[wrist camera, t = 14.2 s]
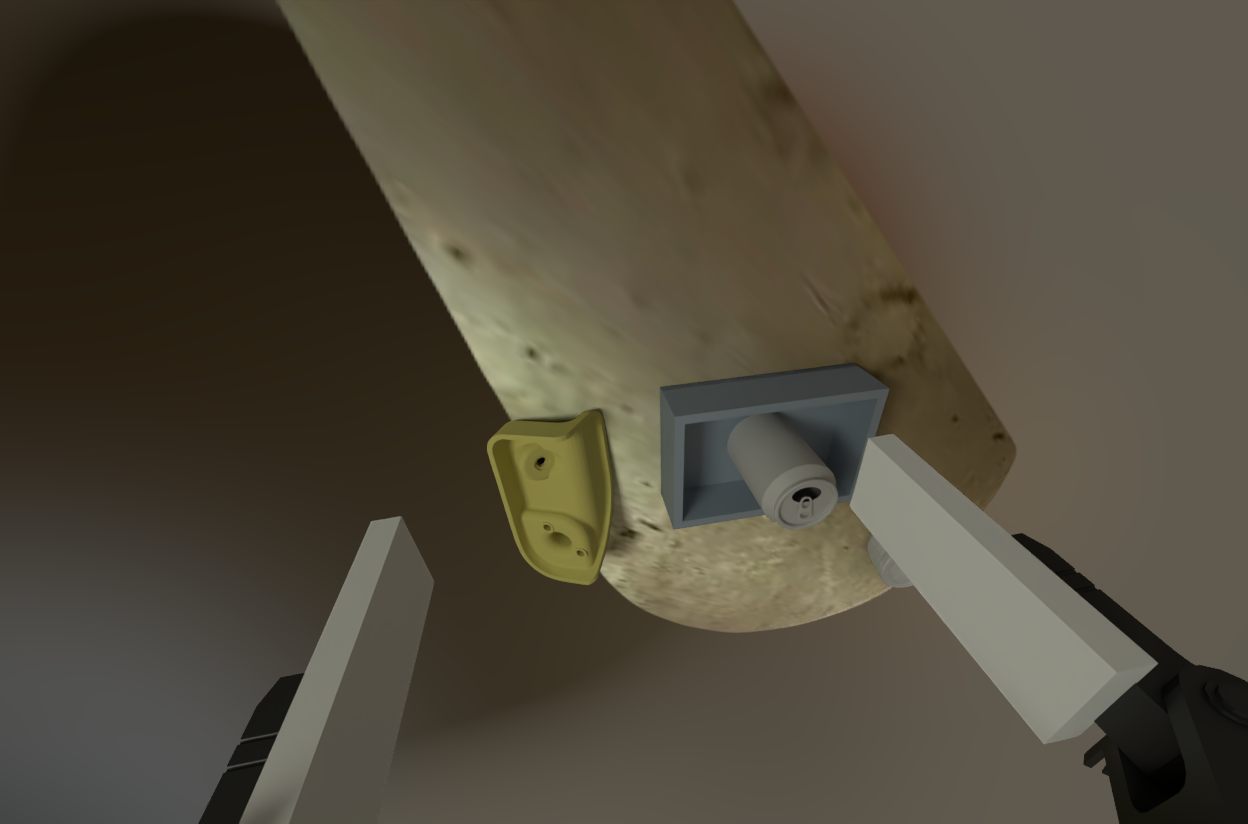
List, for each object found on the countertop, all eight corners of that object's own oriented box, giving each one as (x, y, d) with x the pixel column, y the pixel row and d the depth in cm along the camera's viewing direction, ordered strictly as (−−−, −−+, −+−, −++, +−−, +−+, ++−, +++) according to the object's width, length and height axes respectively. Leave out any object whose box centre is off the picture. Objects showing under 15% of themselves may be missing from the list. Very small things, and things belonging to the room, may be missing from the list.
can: (791, 404, 50) (855, 471, 40) (779, 458, 54) (835, 531, 44) (728, 410, 49) (777, 480, 39) (720, 464, 53) (763, 540, 43)
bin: (660, 387, 47) (674, 416, 42) (853, 362, 49) (889, 388, 44) (661, 493, 55) (673, 529, 50) (828, 468, 57) (855, 500, 52)
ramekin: (892, 566, 71) (916, 594, 67) (844, 551, 67) (866, 581, 63) (944, 517, 67) (973, 544, 62) (896, 499, 63) (923, 526, 58)
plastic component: (481, 432, 44) (573, 438, 41) (517, 398, 50) (600, 401, 47) (525, 574, 53) (603, 588, 50) (551, 531, 59) (622, 541, 56)
